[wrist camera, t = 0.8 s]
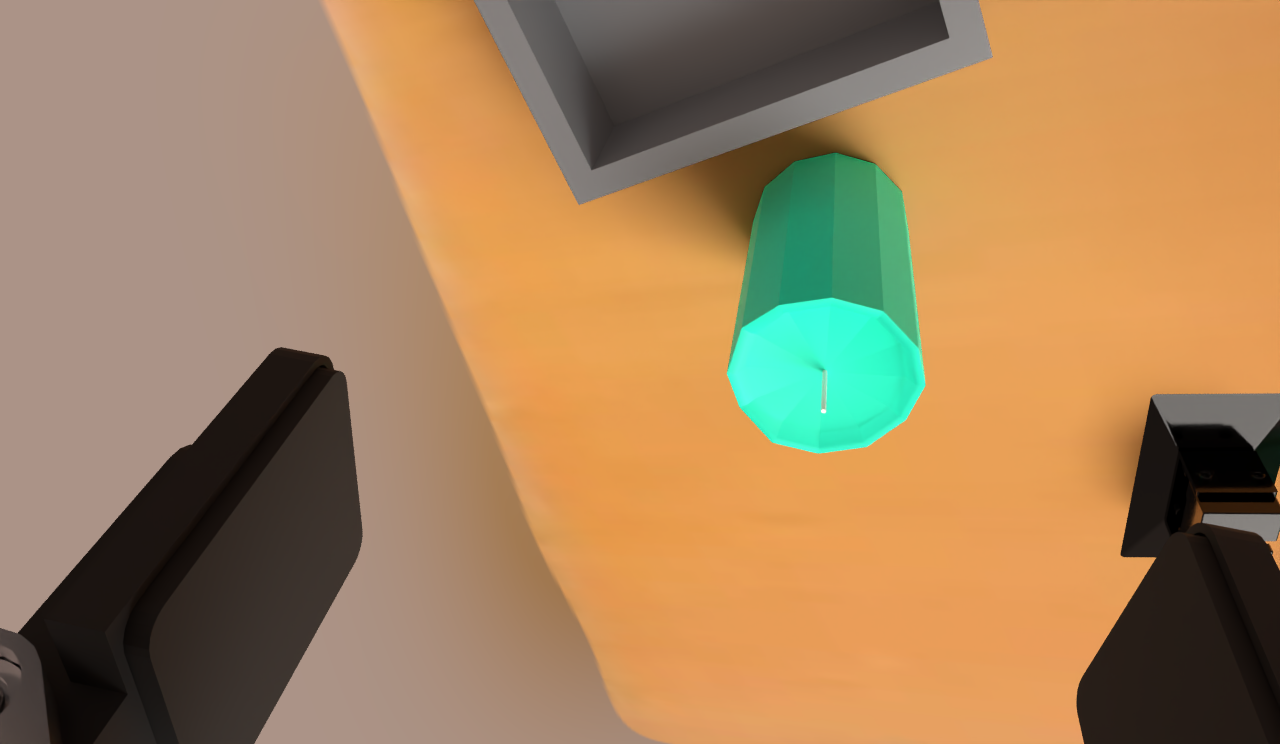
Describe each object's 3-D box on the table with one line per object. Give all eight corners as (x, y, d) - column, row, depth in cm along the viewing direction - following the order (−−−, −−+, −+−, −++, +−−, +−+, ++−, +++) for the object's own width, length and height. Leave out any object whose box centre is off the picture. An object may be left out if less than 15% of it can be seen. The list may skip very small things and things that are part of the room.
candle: (868, 124, 35) (875, 293, 26) (933, 253, 38) (962, 450, 28) (726, 195, 38) (684, 371, 28) (796, 311, 40) (780, 509, 31)
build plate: (1260, 571, 45) (1298, 651, 41) (1092, 568, 46) (1114, 644, 43) (1327, 351, 38) (1379, 423, 34) (1126, 356, 39) (1156, 425, 36)
